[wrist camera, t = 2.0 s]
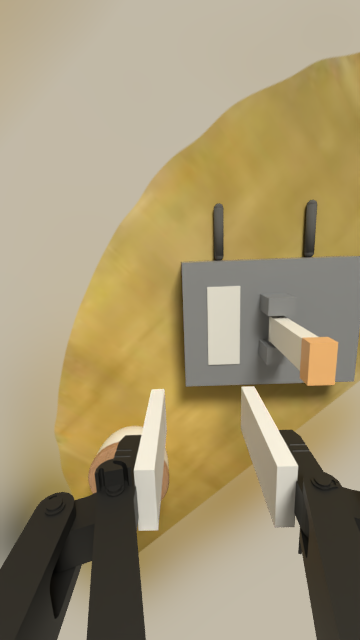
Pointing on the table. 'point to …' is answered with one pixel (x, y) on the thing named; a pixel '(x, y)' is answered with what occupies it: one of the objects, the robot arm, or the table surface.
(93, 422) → the table surface
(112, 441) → the lidded jar
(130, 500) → the robot arm
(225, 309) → the breaker box
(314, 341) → the breaker lever
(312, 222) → the router antennas
